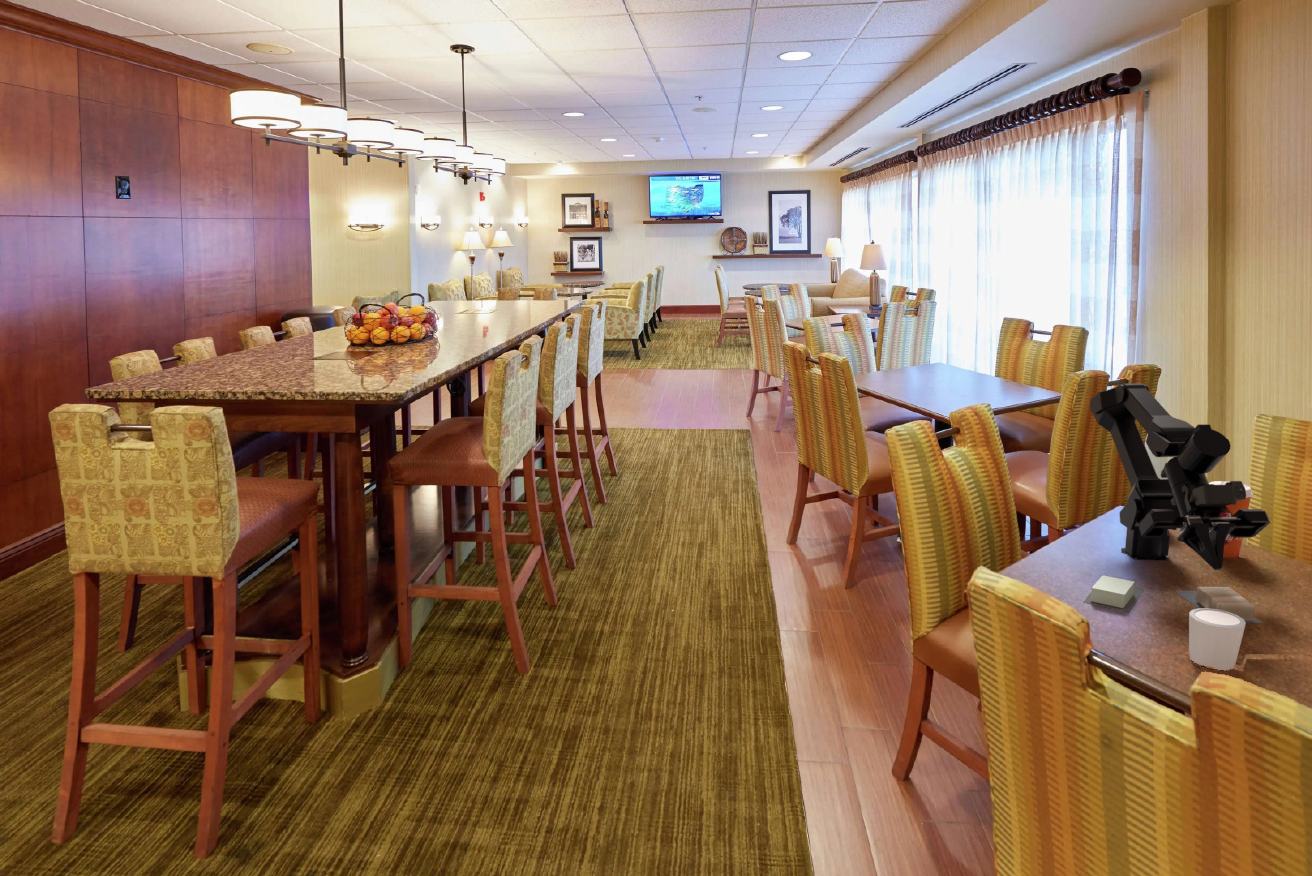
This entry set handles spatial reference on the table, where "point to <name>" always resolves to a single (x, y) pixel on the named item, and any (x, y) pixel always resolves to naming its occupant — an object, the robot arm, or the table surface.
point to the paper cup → (1231, 543)
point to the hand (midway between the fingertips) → (1218, 569)
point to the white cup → (1215, 637)
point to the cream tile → (1225, 601)
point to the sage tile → (1112, 591)
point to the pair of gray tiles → (1138, 590)
